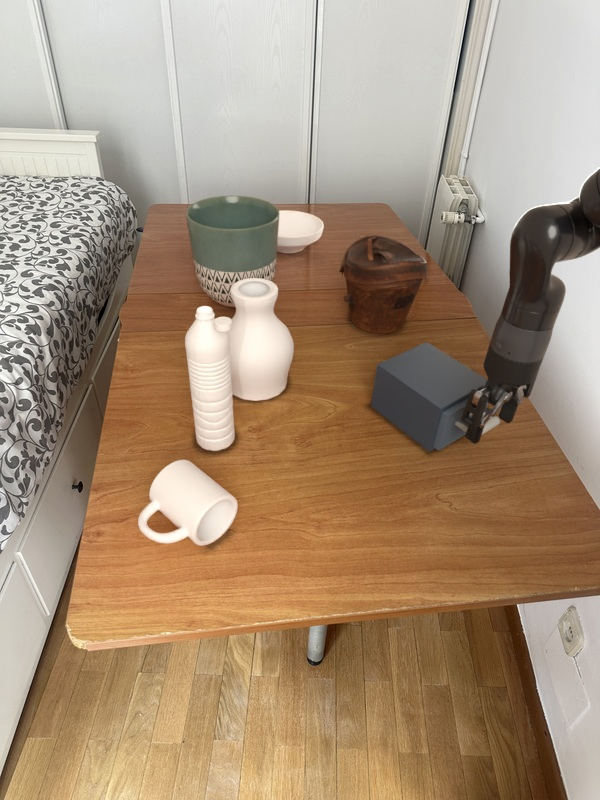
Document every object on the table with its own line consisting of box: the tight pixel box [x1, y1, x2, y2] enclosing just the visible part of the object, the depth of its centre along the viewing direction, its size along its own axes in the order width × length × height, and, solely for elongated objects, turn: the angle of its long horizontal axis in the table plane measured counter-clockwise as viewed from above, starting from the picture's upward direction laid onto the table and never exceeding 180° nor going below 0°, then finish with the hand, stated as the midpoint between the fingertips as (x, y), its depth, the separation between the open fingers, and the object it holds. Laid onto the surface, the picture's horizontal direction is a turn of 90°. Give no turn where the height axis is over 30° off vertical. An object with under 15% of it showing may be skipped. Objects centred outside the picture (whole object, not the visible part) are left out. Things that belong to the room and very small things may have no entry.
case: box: [338, 234, 429, 334], centre depth 118 cm, size 18×20×18 cm
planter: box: [185, 195, 280, 308], centre depth 121 cm, size 20×20×21 cm
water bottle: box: [184, 305, 236, 452], centre depth 83 cm, size 9×6×25 cm
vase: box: [225, 278, 295, 402], centre depth 98 cm, size 14×14×20 cm
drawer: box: [433, 397, 501, 452], centre depth 93 cm, size 18×11×8 cm, turn 37°
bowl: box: [277, 209, 325, 254], centre depth 151 cm, size 20×20×7 cm
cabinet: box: [370, 341, 488, 453], centre depth 95 cm, size 15×13×10 cm
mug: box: [137, 459, 239, 547], centre depth 74 cm, size 12×10×8 cm
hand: (488, 429), depth 87 cm, fingers open, 8 cm apart
